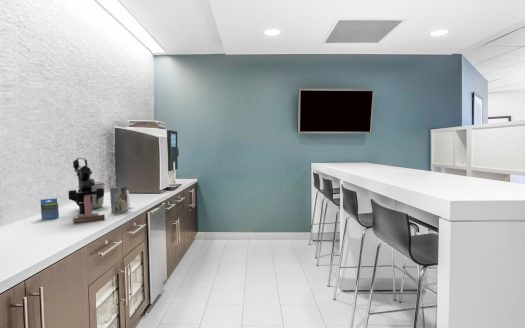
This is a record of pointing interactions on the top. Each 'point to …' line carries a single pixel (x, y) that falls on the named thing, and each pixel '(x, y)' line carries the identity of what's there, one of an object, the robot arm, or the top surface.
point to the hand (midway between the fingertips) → (88, 204)
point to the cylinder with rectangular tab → (128, 199)
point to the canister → (100, 201)
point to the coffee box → (118, 199)
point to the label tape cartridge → (49, 209)
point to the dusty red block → (87, 206)
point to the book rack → (88, 218)
